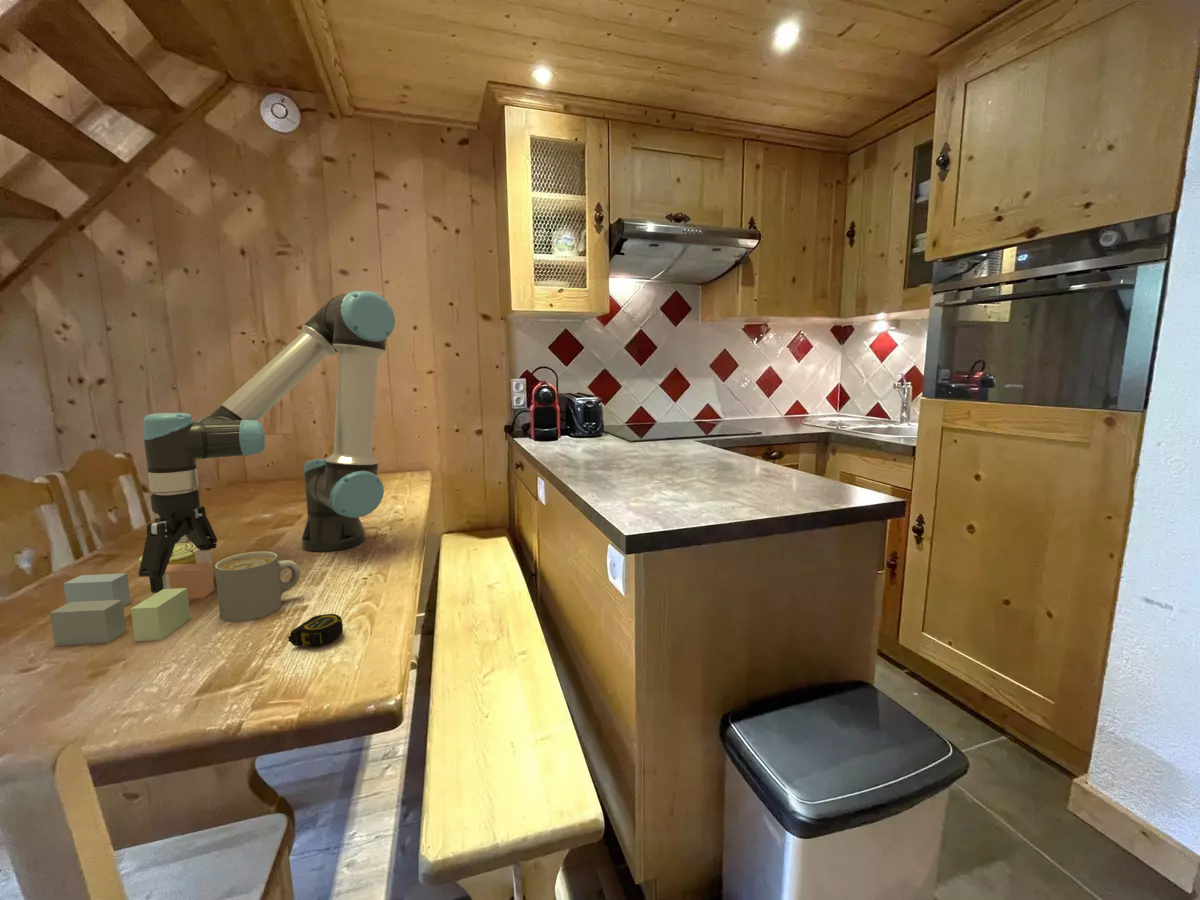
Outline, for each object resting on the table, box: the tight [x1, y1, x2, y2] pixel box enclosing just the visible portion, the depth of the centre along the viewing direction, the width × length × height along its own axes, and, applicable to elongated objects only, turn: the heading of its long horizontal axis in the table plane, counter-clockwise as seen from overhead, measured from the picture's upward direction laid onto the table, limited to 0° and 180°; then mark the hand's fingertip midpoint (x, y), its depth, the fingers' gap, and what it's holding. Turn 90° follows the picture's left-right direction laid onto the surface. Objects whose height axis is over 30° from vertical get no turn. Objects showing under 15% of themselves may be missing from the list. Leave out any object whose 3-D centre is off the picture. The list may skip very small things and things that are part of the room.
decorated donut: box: [138, 542, 200, 566], centre depth 123 cm, size 11×12×4 cm
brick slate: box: [49, 600, 127, 647], centre depth 88 cm, size 8×4×6 cm, turn 98°
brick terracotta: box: [165, 563, 215, 600], centre depth 106 cm, size 8×4×6 cm, turn 98°
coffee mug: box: [214, 550, 300, 623], centre depth 100 cm, size 13×10×10 cm
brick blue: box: [63, 573, 132, 607], centre depth 100 cm, size 8×4×6 cm, turn 98°
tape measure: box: [287, 613, 344, 648], centre depth 89 cm, size 7×7×4 cm
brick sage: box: [130, 588, 192, 642], centre depth 92 cm, size 8×4×6 cm, turn 8°
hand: (185, 592), depth 106 cm, fingers open, 13 cm apart
